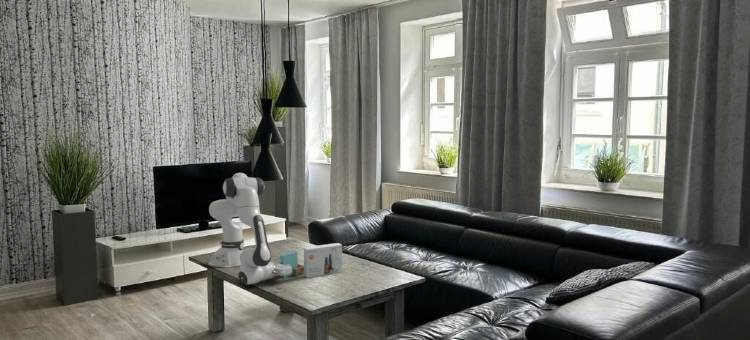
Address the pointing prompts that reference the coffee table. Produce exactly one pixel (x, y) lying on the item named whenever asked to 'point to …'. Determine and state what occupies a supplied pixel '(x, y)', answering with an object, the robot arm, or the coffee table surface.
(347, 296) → the coffee table surface
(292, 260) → the teal rectangular block
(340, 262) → the skincare box
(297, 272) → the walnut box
